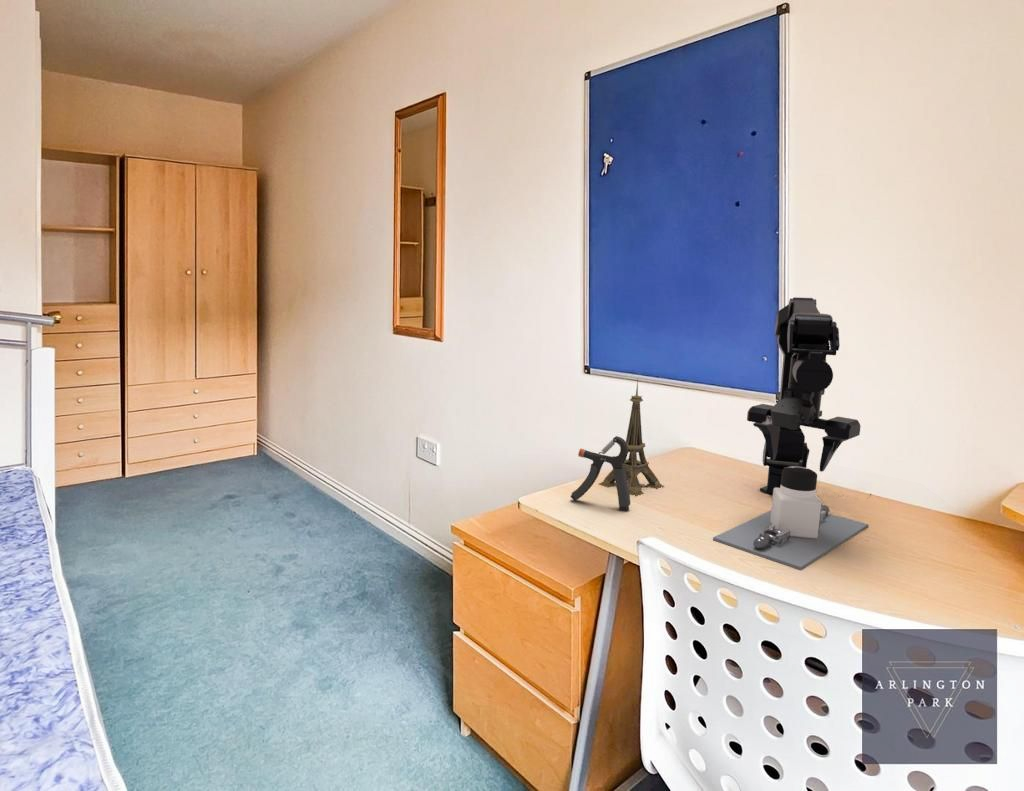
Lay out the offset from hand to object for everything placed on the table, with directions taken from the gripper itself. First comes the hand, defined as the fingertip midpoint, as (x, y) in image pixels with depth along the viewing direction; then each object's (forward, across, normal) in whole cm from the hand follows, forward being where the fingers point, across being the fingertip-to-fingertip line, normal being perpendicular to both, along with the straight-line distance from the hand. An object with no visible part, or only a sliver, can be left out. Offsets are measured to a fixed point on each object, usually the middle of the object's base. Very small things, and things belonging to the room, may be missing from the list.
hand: (796, 465), depth 122 cm
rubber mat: (+13, +1, -1) cm, 13 cm away
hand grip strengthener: (+13, -32, -18) cm, 39 cm away
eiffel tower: (+13, -36, -2) cm, 38 cm away
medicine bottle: (+12, +1, -1) cm, 13 cm away
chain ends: (+13, +1, -1) cm, 13 cm away
